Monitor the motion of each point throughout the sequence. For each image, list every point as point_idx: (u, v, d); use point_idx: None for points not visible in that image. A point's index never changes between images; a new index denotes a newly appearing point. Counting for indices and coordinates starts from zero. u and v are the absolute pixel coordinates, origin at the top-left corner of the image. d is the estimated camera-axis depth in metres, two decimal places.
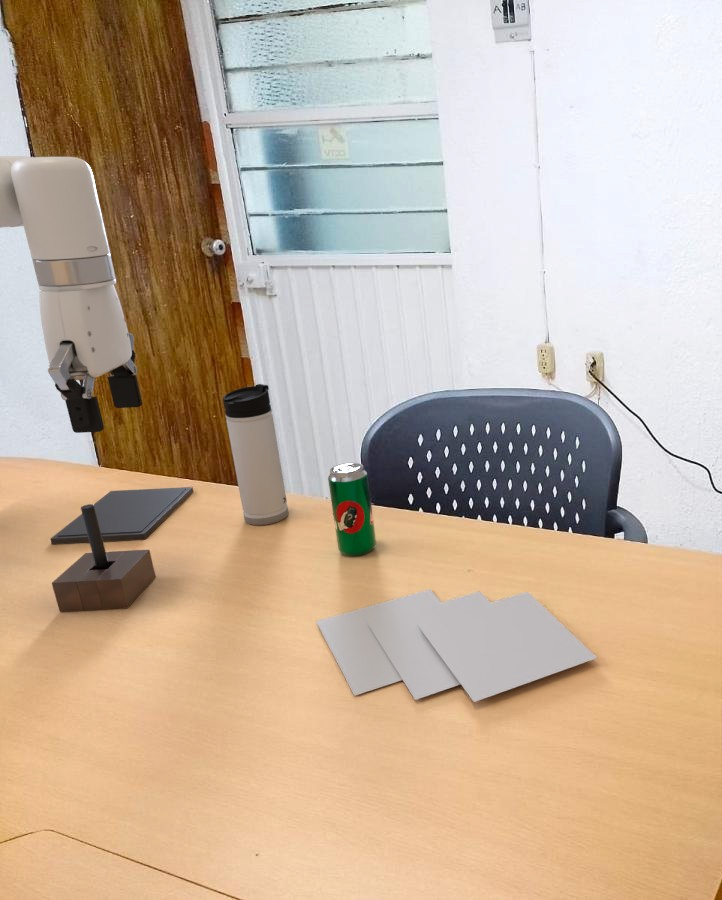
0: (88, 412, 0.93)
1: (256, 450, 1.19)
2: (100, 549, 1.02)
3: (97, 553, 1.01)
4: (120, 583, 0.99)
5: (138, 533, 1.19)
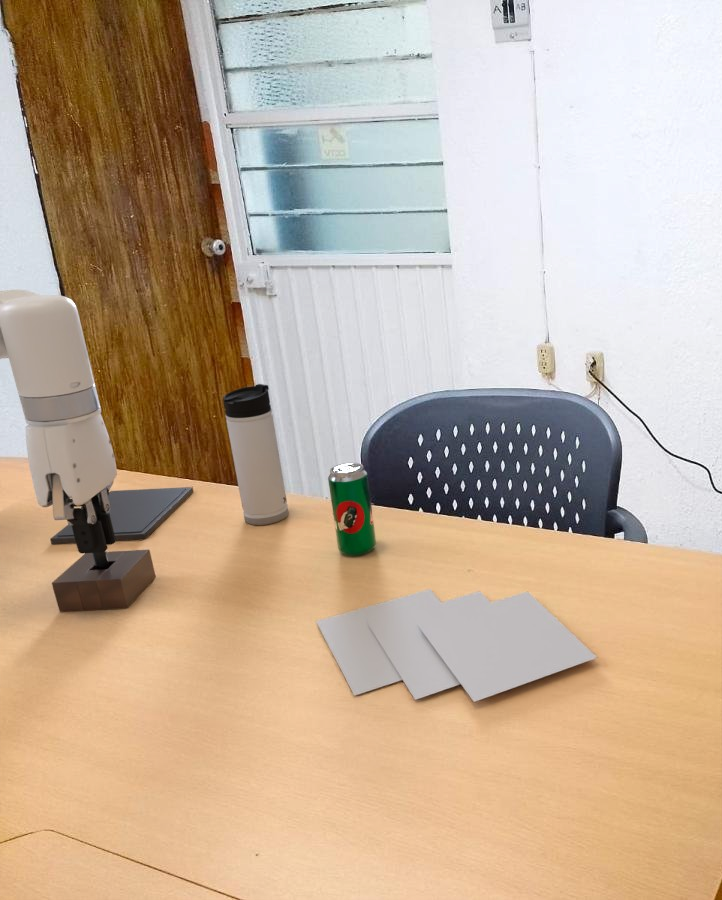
0: (92, 535, 1.00)
1: (256, 450, 1.19)
2: None
3: (97, 553, 1.01)
4: (120, 583, 0.99)
5: (138, 533, 1.19)
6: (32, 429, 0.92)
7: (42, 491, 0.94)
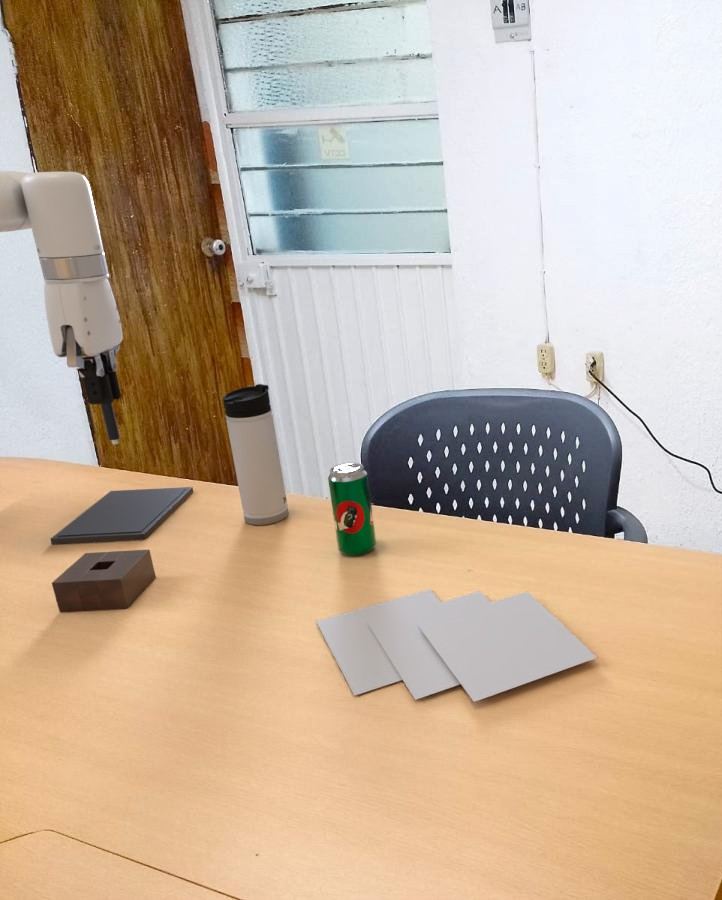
0: (101, 387, 1.15)
1: (256, 450, 1.19)
2: None
3: (105, 405, 1.16)
4: (120, 583, 0.99)
5: (138, 533, 1.19)
6: (50, 285, 1.07)
7: (58, 341, 1.09)
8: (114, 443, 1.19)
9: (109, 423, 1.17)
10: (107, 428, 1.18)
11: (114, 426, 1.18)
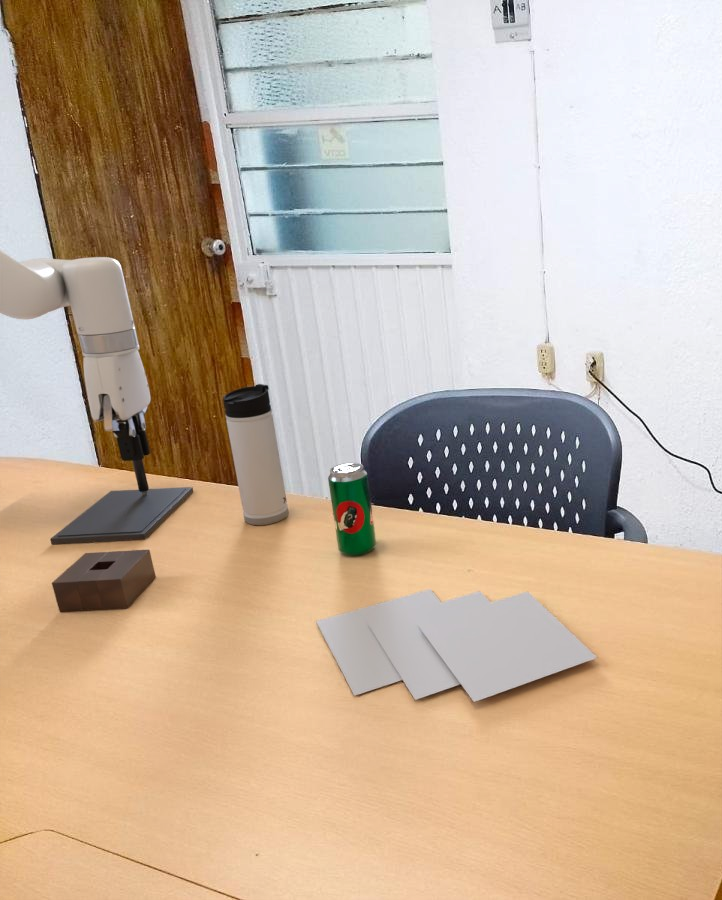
0: (133, 446, 1.28)
1: (256, 450, 1.19)
2: None
3: (136, 461, 1.30)
4: (120, 583, 0.99)
5: (138, 533, 1.19)
6: (88, 359, 1.20)
7: (95, 408, 1.22)
8: (144, 494, 1.32)
9: (139, 477, 1.31)
10: (138, 481, 1.31)
11: (144, 479, 1.31)
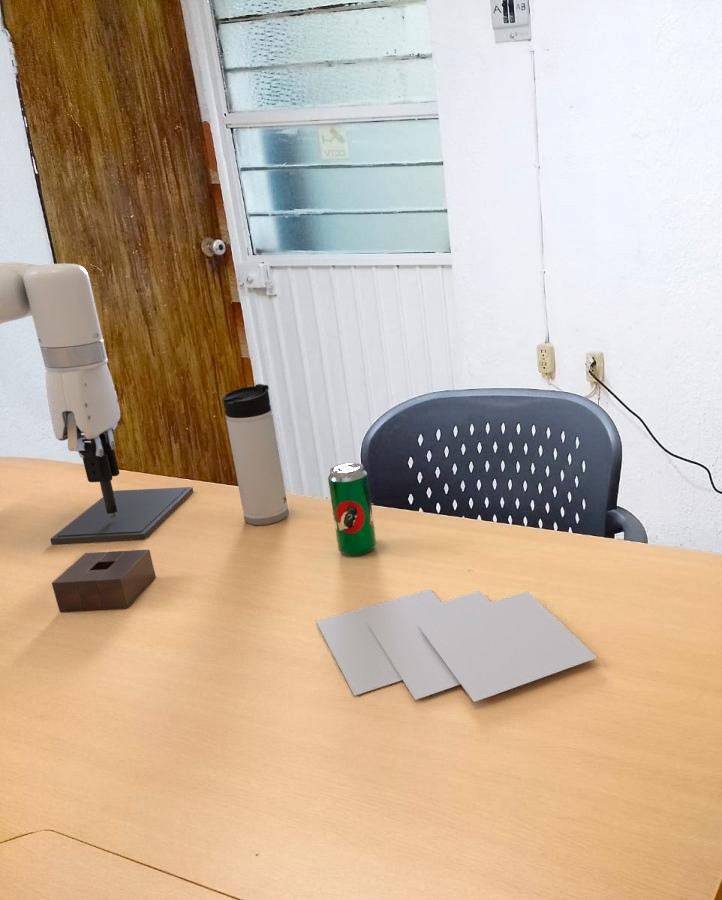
0: (100, 466, 1.19)
1: (256, 450, 1.19)
2: None
3: None
4: (120, 583, 0.99)
5: (138, 533, 1.19)
6: (51, 374, 1.11)
7: (59, 426, 1.13)
8: (112, 516, 1.23)
9: (107, 498, 1.21)
10: (105, 502, 1.22)
11: (112, 500, 1.22)
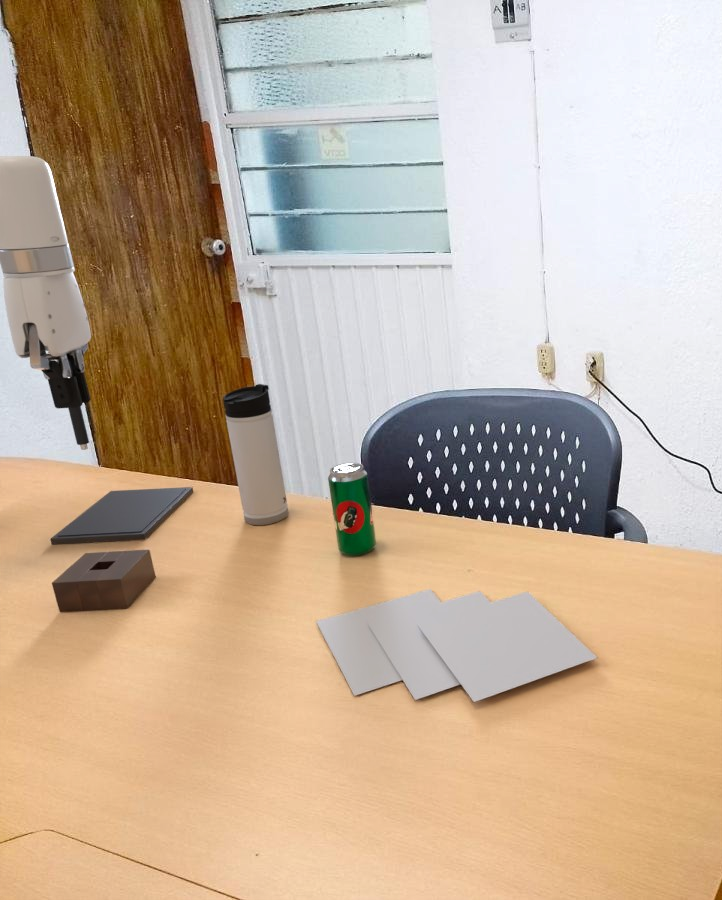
0: (68, 390, 1.06)
1: (256, 450, 1.19)
2: None
3: None
4: (120, 583, 0.99)
5: (138, 533, 1.19)
6: (9, 279, 0.99)
7: (19, 340, 1.00)
8: (83, 448, 1.10)
9: (77, 426, 1.09)
10: (75, 432, 1.09)
11: (83, 430, 1.09)
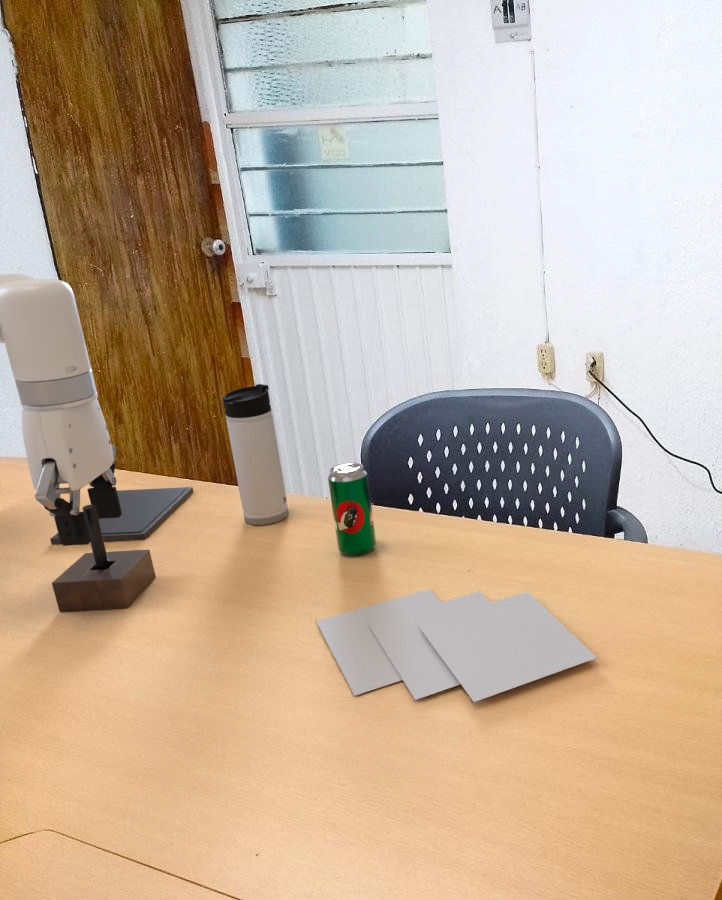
0: (76, 527, 0.96)
1: (256, 450, 1.19)
2: (101, 549, 1.01)
3: (98, 553, 1.01)
4: (120, 583, 0.99)
5: (138, 533, 1.19)
6: (28, 413, 0.91)
7: (38, 476, 0.93)
8: None
9: None
10: None
11: None
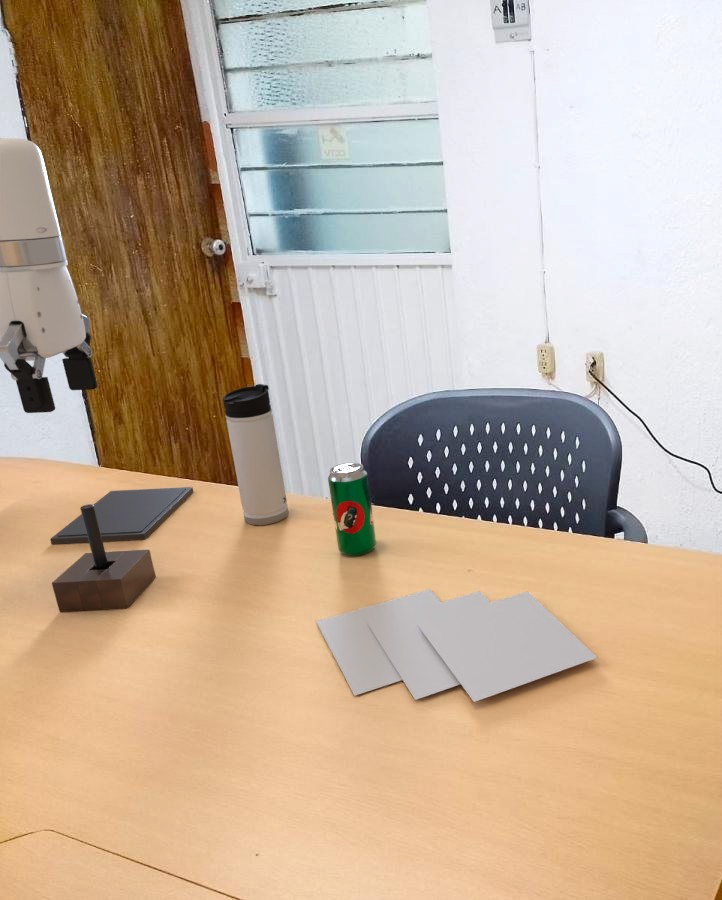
0: (39, 392, 0.94)
1: (256, 450, 1.19)
2: (100, 549, 1.02)
3: (97, 553, 1.01)
4: (120, 583, 0.99)
5: (138, 533, 1.19)
6: None
7: None
8: None
9: None
10: None
11: None
